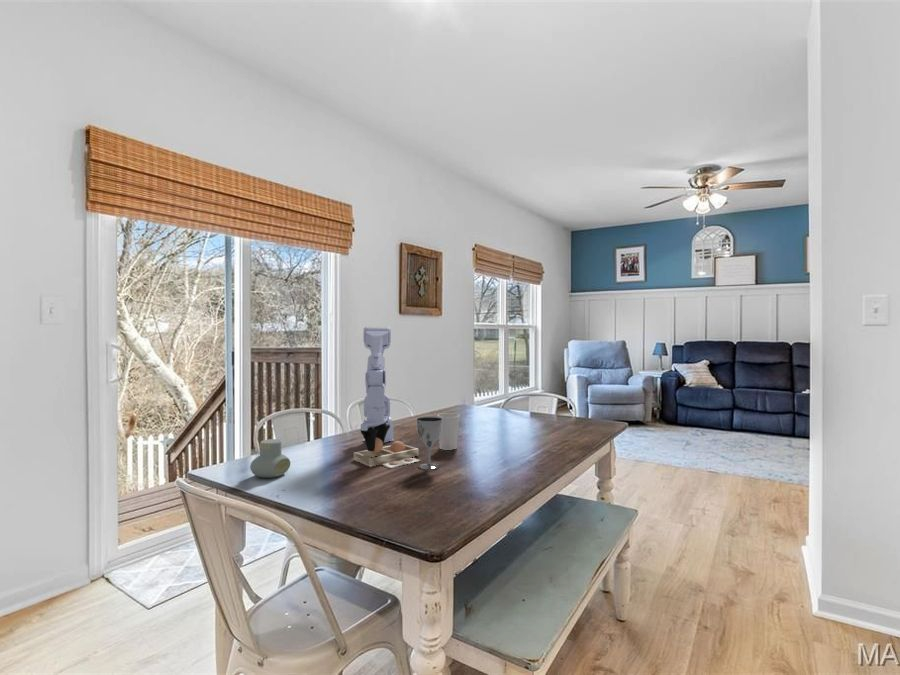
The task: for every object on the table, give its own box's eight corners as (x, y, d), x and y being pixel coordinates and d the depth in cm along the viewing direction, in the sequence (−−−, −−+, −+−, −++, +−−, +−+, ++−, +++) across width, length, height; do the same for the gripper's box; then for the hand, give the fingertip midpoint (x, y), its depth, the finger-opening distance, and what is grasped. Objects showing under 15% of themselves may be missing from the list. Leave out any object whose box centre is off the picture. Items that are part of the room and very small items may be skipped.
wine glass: (447, 466, 148) (447, 418, 148) (428, 472, 142) (429, 422, 142) (429, 462, 153) (429, 415, 153) (411, 467, 147) (411, 418, 147)
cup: (463, 447, 172) (463, 414, 172) (451, 452, 165) (452, 418, 165) (445, 444, 176) (445, 412, 176) (432, 449, 170) (433, 415, 169)
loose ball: (373, 450, 158) (373, 435, 158) (386, 452, 156) (386, 436, 155) (364, 453, 153) (364, 438, 153) (377, 455, 151) (377, 440, 151)
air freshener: (269, 482, 132) (269, 446, 131) (245, 479, 134) (245, 444, 134) (294, 471, 142) (294, 438, 142) (271, 469, 145) (271, 436, 144)
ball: (399, 453, 164) (399, 438, 164) (408, 456, 160) (408, 441, 160) (387, 455, 161) (387, 440, 161) (396, 458, 157) (396, 443, 157)
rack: (400, 450, 168) (400, 443, 168) (429, 459, 156) (429, 451, 156) (353, 460, 155) (353, 452, 155) (380, 470, 143) (381, 462, 143)
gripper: (376, 402, 162) (376, 442, 163) (352, 409, 149) (352, 452, 149) (394, 404, 160) (394, 444, 160) (371, 411, 146) (371, 455, 146)
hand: (375, 448), depth 154 cm, fingers closed on loose ball, 5 cm apart
